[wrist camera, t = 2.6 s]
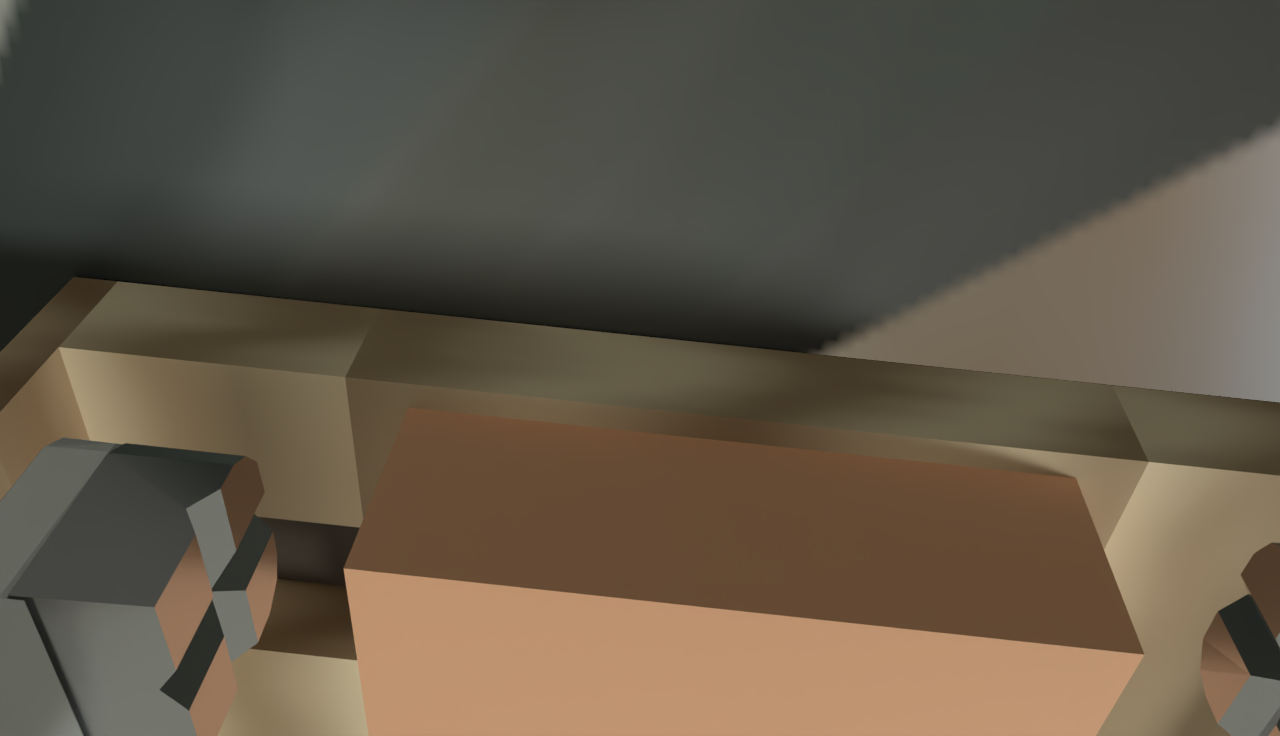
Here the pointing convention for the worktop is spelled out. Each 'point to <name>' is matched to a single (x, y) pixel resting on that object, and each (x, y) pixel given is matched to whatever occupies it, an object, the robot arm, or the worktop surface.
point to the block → (723, 590)
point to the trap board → (624, 400)
